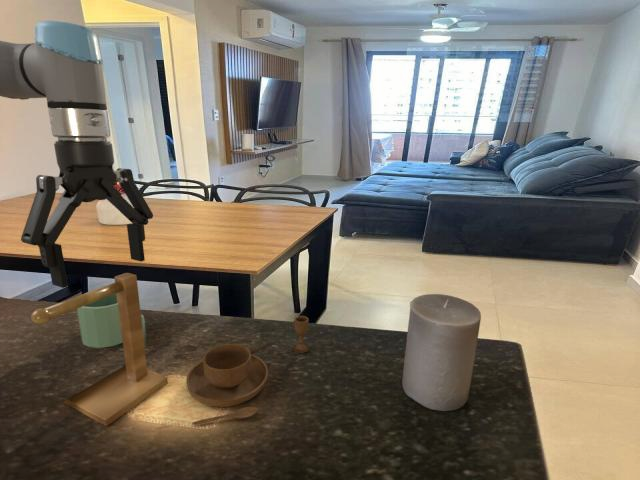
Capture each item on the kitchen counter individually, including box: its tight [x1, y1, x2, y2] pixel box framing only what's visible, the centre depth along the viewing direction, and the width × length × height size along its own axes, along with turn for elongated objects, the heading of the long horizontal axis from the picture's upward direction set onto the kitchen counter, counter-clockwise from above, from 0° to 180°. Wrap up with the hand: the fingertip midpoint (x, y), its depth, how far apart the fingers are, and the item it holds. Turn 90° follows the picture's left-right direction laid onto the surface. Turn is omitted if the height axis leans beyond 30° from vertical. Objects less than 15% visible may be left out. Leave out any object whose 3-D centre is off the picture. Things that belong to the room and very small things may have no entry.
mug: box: [75, 289, 148, 349], centre depth 65 cm, size 13×9×9 cm, turn 63°
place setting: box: [185, 315, 310, 426], centre depth 58 cm, size 18×20×6 cm
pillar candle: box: [401, 293, 482, 412], centre depth 56 cm, size 10×10×15 cm
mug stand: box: [30, 272, 169, 427], centre depth 52 cm, size 12×14×17 cm
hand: (102, 271), depth 63 cm, fingers open, 13 cm apart
